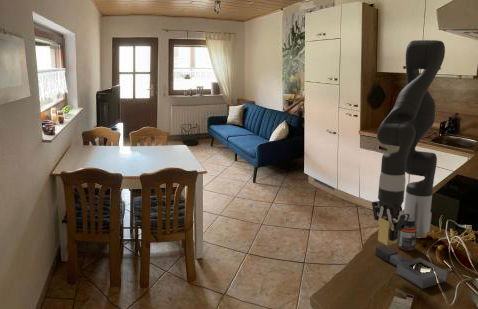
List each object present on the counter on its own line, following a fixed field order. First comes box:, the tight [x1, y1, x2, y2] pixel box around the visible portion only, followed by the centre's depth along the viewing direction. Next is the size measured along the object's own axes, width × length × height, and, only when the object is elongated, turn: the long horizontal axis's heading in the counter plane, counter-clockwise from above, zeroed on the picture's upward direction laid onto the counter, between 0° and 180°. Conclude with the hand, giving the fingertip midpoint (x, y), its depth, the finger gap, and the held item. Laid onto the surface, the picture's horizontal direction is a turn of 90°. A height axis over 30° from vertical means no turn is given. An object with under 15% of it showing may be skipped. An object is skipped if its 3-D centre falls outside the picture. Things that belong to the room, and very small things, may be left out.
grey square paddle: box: [375, 244, 448, 289], centre depth 129 cm, size 10×22×3 cm, turn 24°
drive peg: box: [377, 217, 398, 246], centre depth 126 cm, size 4×4×8 cm
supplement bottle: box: [397, 217, 417, 252], centre depth 143 cm, size 6×6×11 cm
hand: (387, 237), depth 126 cm, fingers closed on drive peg, 4 cm apart
